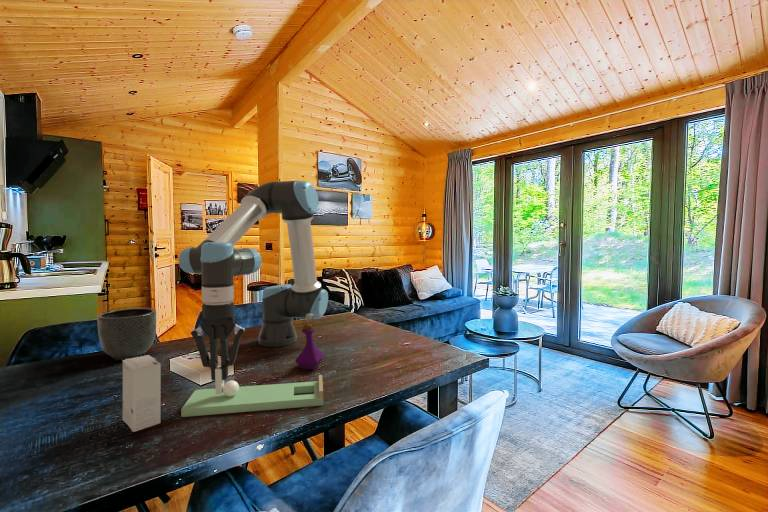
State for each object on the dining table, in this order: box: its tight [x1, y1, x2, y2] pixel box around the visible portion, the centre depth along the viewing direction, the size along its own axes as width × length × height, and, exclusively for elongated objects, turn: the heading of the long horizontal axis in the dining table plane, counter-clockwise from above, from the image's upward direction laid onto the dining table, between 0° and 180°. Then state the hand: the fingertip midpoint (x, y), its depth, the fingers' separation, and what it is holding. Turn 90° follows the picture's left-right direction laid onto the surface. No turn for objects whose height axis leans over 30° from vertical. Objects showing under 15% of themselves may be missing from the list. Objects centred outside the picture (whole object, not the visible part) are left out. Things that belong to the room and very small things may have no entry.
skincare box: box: [121, 354, 162, 433], centre depth 86 cm, size 8×6×15 cm
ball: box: [223, 380, 240, 397], centre depth 96 cm, size 4×4×4 cm
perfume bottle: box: [295, 314, 325, 371], centre depth 121 cm, size 8×8×18 cm
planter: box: [96, 307, 158, 361], centre depth 131 cm, size 17×17×16 cm
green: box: [180, 374, 324, 418], centre depth 97 cm, size 11×34×4 cm, turn 101°
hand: (219, 391), depth 95 cm, fingers closed
